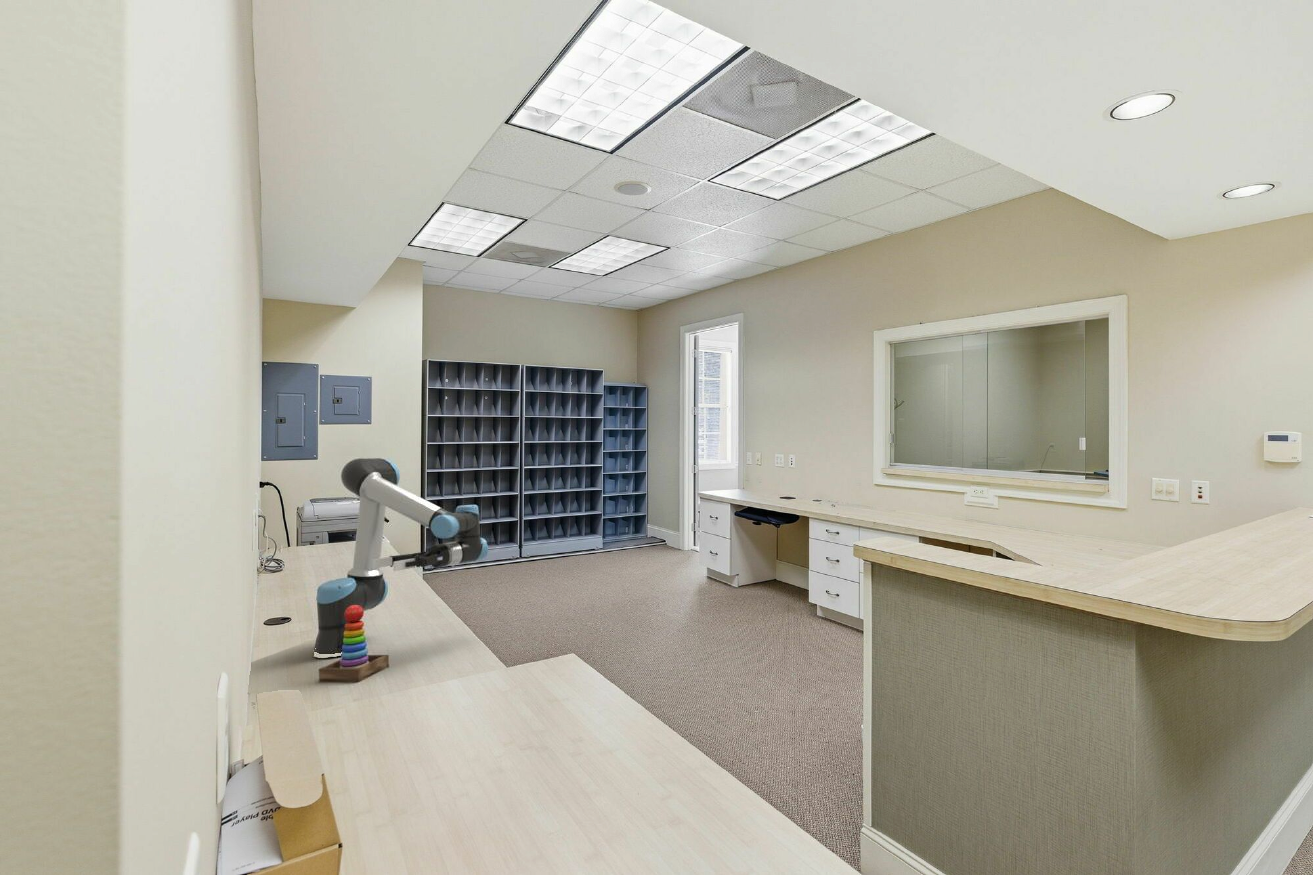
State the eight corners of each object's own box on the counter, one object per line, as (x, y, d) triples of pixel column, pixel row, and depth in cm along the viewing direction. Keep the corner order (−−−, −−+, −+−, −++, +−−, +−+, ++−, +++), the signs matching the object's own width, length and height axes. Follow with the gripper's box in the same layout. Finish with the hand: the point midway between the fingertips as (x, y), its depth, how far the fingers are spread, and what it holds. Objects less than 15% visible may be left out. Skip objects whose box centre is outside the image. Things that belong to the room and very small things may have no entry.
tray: (351, 666, 189) (351, 654, 189) (389, 666, 186) (388, 654, 186) (319, 681, 176) (318, 668, 176) (358, 682, 173) (357, 669, 173)
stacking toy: (358, 674, 177) (355, 608, 177) (333, 674, 178) (330, 608, 179) (375, 665, 184) (373, 602, 185) (351, 665, 186) (349, 602, 187)
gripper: (467, 568, 199) (404, 580, 182) (424, 564, 214) (363, 575, 198) (465, 544, 199) (403, 554, 183) (423, 542, 215) (362, 551, 198)
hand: (382, 565), depth 190 cm, fingers open, 13 cm apart
